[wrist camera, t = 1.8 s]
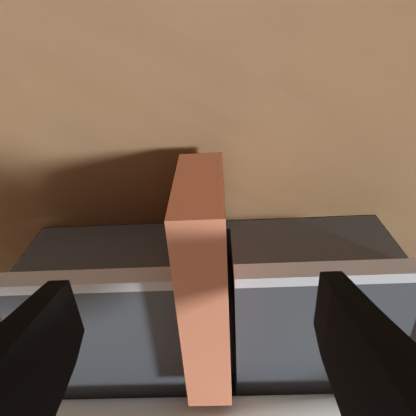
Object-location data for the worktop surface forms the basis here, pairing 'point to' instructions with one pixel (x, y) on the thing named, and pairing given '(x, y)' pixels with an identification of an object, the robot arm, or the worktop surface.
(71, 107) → the worktop surface
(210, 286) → the salmon pink slab
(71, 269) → the dispenser
